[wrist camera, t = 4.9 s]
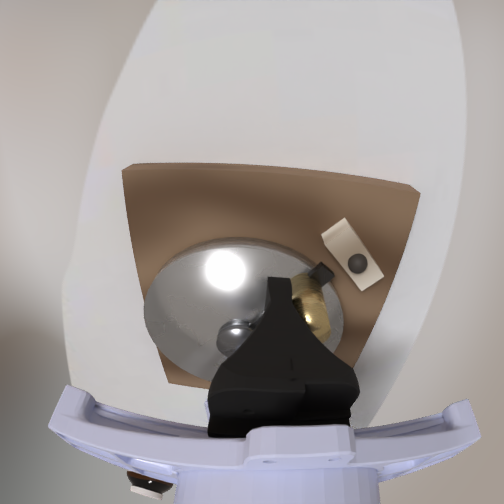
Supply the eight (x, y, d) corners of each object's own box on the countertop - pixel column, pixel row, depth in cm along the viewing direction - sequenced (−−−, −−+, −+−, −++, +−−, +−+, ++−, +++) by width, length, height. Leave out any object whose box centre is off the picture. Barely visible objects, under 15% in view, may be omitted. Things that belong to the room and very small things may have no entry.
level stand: (336, 382, 24) (340, 410, 22) (172, 371, 25) (164, 398, 22) (409, 184, 14) (437, 206, 11) (133, 163, 15) (104, 181, 12)
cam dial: (254, 391, 23) (252, 436, 19) (124, 320, 19) (100, 368, 15) (384, 308, 17) (405, 362, 13) (230, 178, 13) (212, 217, 9)
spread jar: (149, 455, 48) (140, 494, 38) (117, 436, 42) (104, 480, 33) (191, 460, 45) (183, 504, 35) (160, 442, 40) (148, 493, 30)
